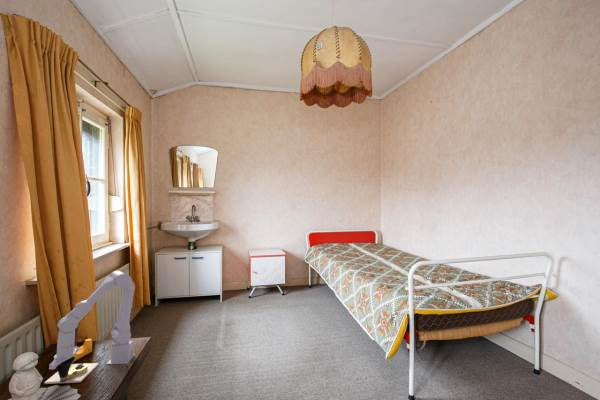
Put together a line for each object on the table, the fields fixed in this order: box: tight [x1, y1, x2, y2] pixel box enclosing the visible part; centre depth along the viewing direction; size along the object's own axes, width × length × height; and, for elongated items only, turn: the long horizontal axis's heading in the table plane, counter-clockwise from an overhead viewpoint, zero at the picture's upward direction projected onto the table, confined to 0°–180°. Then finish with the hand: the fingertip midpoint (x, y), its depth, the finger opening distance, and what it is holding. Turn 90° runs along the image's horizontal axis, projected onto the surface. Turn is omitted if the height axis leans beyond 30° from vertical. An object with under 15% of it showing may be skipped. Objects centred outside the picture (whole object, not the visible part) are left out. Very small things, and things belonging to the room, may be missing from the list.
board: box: [44, 362, 100, 385], centre depth 121 cm, size 14×13×4 cm
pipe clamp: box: [72, 338, 93, 364], centre depth 134 cm, size 12×4×6 cm, turn 173°
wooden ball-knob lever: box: [60, 363, 88, 382], centre depth 119 cm, size 11×6×2 cm, turn 171°
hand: (63, 376), depth 116 cm, fingers closed
